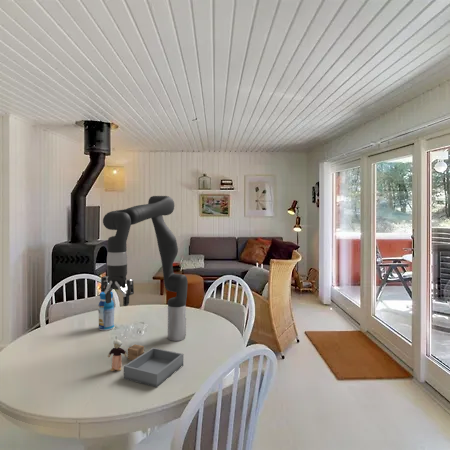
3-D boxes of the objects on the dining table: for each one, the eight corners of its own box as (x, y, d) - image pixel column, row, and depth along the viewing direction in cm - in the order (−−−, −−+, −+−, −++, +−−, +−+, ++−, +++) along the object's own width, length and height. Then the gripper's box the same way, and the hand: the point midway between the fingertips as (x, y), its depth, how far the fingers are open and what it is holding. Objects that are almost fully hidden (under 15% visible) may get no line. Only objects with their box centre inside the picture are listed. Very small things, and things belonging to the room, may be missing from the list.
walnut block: (134, 354, 154) (134, 344, 154) (143, 357, 152) (143, 346, 152) (127, 359, 149) (127, 348, 149) (136, 361, 147) (136, 350, 147)
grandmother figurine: (107, 372, 137) (107, 342, 136) (107, 368, 141) (107, 338, 140) (127, 370, 139) (127, 340, 138) (127, 366, 143) (127, 337, 142)
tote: (153, 358, 150) (153, 347, 150) (183, 365, 144) (183, 354, 144) (123, 378, 132) (123, 366, 132) (156, 387, 126) (156, 374, 126)
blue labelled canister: (111, 331, 182) (111, 294, 181) (95, 330, 183) (95, 294, 182) (116, 325, 191) (116, 290, 190) (101, 325, 191) (101, 290, 190)
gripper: (138, 263, 132) (138, 304, 133) (109, 260, 137) (109, 299, 138) (125, 266, 125) (125, 309, 126) (95, 263, 131) (96, 304, 131)
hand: (117, 304), depth 132 cm, fingers open, 8 cm apart
